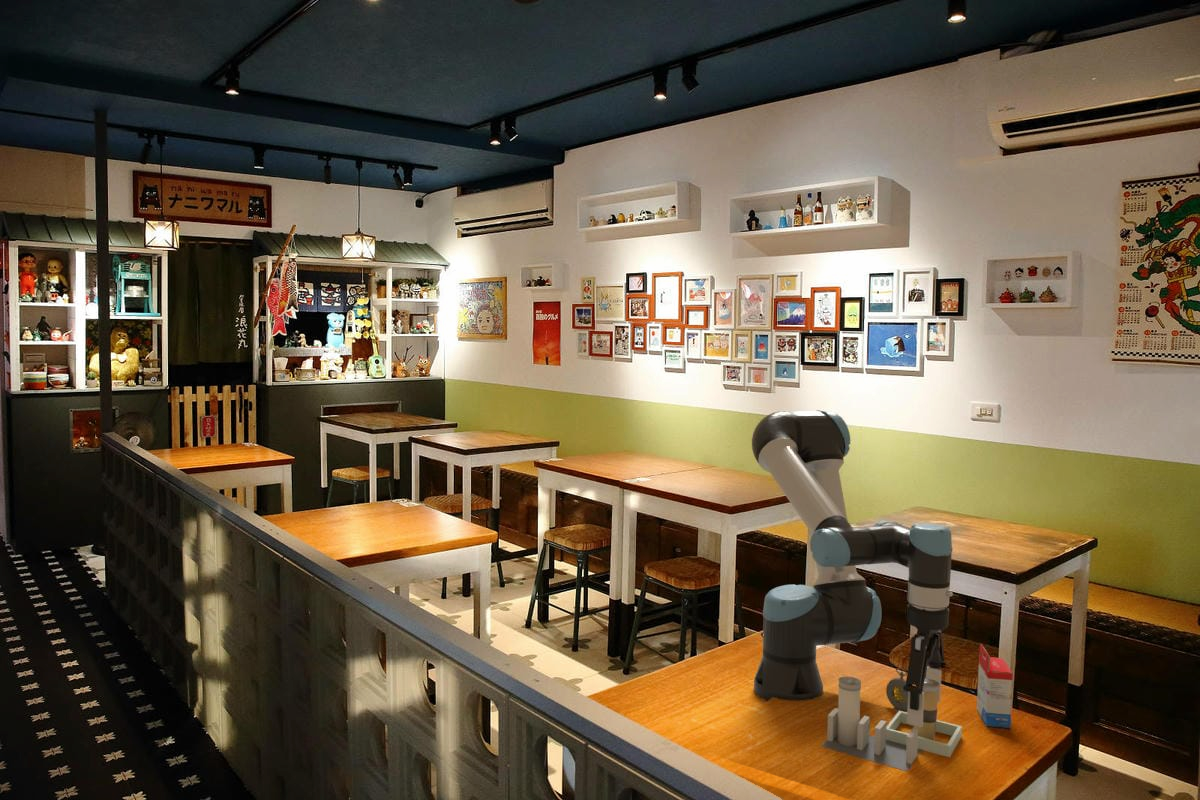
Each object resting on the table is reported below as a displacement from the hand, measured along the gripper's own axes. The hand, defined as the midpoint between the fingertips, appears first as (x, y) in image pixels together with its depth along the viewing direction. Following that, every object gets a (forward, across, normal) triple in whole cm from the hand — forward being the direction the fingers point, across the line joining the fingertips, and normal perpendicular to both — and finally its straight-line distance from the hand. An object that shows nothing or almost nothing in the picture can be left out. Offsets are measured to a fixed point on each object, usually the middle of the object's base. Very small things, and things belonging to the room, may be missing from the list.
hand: (924, 712), depth 164 cm
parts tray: (+7, 0, 0) cm, 7 cm away
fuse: (+5, -10, +12) cm, 16 cm away
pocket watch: (+7, +14, +7) cm, 17 cm away
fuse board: (+7, -10, +7) cm, 14 cm away
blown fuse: (+6, 0, 0) cm, 6 cm away
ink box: (+7, +21, -9) cm, 24 cm away
